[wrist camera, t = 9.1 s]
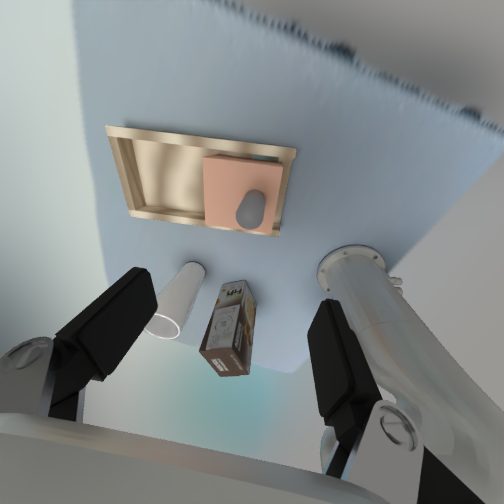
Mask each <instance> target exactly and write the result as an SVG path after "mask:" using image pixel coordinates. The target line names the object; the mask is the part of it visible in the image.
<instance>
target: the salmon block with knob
mask: <svg viewBox="0 0 504 504" xmlns="http://www.w3.org/2000/svg"><path fill="white" fill-rule="evenodd" d="M202 159H203V182H204V205H205V224H206V225H213V226H220V227H227V228H235V229H242V230H249V231H256V232H263V233H270V234H271V233H272V227H273V222H274V216H275V211H276V205H277V199H278V194H279V188H280V183H281V177H282V172H283V165H282V162H275V161H267V160H259V159H252V158H244V157H236V156H228V155H220V154H214V155H209V156H205V157H202Z"/></svg>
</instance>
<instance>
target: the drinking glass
mask: <svg viewBox="0 0 504 504" xmlns="http://www.w3.org/2000/svg"><path fill="white" fill-rule="evenodd" d="M204 277H205V270H204V268H203V267H202V266H201V265H200V264H198V263H195V262H189V263H186V264H185V265H184V266H183V267H182V269H181V270H180V271H179V272H178V273H177V274H176V276H175V277H174V278H173V279H172V280H171V281H170V282H169V283H168V284H167V285H166V286H165V288H164V289H163V290H162V291H161V292H160V293H159V294H158V295H157V296H156V299H157V303H158V309H157V311H156V313H155V314H154V315H153V317H152V318H151V320H150V321H149V322H148V324H147V325H146V327H145V328H144V329H145V330H146V331H147V332H148V333H150V334H152V335H154V336H156V337H159V338H163V339H173V338H176V337H177V336H179V334H180V332H181V331H182V329H183V327H184V325H185V323H186V321H187V319H188V317H189V315H190V313H191V310H192V308H193V305H194V302H195V300H196V297H197V294H198V292H199V289H200V286H201V284H202V281H203V279H204Z"/></svg>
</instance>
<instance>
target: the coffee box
mask: <svg viewBox="0 0 504 504" xmlns="http://www.w3.org/2000/svg"><path fill="white" fill-rule="evenodd" d="M256 306H257V305H256V303H255V301H254V298H253V296H252V294H251V292H250V290H249V288H248V285H247V283H246V281H245V280H243V281H238V282H233V283H228V284H224V285H222V287H221V290H220V293H219V296H218V299H217V302H216V304H215V307H214V310H213V313H212V316H211V318H210V321H209V324H208V327H207V330H206V333H205V335H204V338H203V341H202V344H201V347H200V349H199V352H200V353H201V355H202V356H203V357H204V358H205V359H206V360H207V362H208V363H209V364H210V365H211V366H212V367H213V369H214V370H215V371H216V372H217V373H218V375H219V376H221V377H224V376H226V377H227V376H239V375H249V374H250V365H251V355H252V345H253V335H254V325H255V315H256Z"/></svg>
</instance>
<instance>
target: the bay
mask: <svg viewBox="0 0 504 504" xmlns="http://www.w3.org/2000/svg"><path fill="white" fill-rule="evenodd" d="M105 127H106V131H107V134H108V138H109V141H110V145H111V149H112V152H113V156H114V159H115V163H116V166H117V170H118V174H119V177H120V181H121V184H122V188H123V191H124V195H125V198H126V202H127V206H128V209H129V213H130V216H132V217H139V218H146V219H153V220H160V221H168V222H175V223H182V224H189V225H196V226H203V227H210V228H217V229H224V230H231V231H239V232H246V233H253V234H260V235H267V236H274V237H279V233H280V219H281V214H282V209H283V204H284V199H285V194H286V189H287V184H288V179H289V174H290V169H291V164H292V159H295V155H296V151H297V149H296V148H291V147H283V146H275V145H267V144H259V143H250V142H242V141H234V140H226V139H218V138H209V137H201V136H193V135H185V134H177V133H168V132H160V131H152V130H144V129H136V128H127V127H117V126H106V125H105ZM214 154H220V155H228V156H236V157H244V158H252V159H259V160H267V161H275V162H282V165H283V172H282V177H281V183H280V188H279V194H278V199H277V205H276V211H275V216H274V222H273V227H272V233H271V234H270V233H263V232H256V231H249V230H242V229H235V228H227V227H220V226H213V225H206V224H205V205H204V182H203V159H202V157H205V156H209V155H214Z"/></svg>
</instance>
